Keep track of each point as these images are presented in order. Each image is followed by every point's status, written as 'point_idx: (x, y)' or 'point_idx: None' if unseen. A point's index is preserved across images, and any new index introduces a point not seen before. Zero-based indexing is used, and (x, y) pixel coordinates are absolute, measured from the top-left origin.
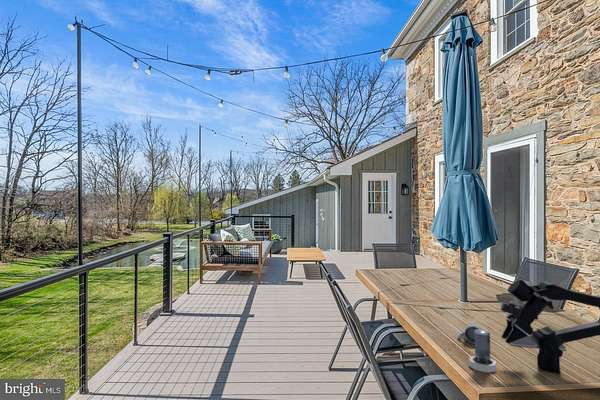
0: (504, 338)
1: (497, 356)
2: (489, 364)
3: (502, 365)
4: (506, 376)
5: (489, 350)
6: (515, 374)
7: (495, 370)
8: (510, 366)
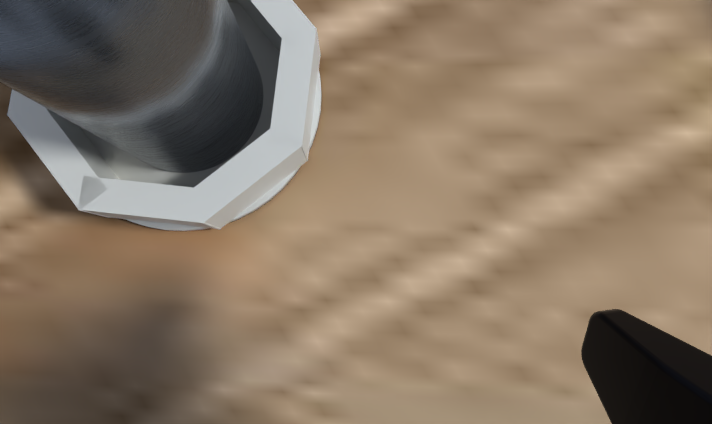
0: (586, 369)
1: (602, 244)
2: (77, 147)
3: (340, 293)
4: (41, 327)
5: (28, 97)
6: (139, 420)
7: (130, 220)
8: (353, 377)
